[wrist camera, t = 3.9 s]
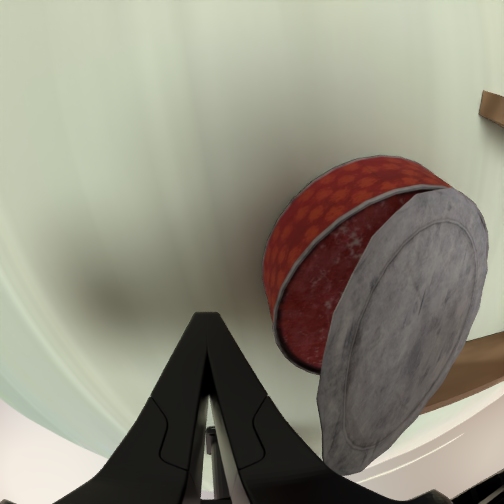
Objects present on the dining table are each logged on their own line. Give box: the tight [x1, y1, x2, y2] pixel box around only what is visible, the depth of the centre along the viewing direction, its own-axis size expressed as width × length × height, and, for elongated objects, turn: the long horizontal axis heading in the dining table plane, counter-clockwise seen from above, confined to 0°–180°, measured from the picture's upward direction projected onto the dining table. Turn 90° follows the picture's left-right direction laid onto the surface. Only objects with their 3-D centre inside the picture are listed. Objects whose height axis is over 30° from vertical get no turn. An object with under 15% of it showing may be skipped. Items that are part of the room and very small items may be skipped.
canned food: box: [262, 155, 489, 476], centre depth 11 cm, size 11×10×10 cm
